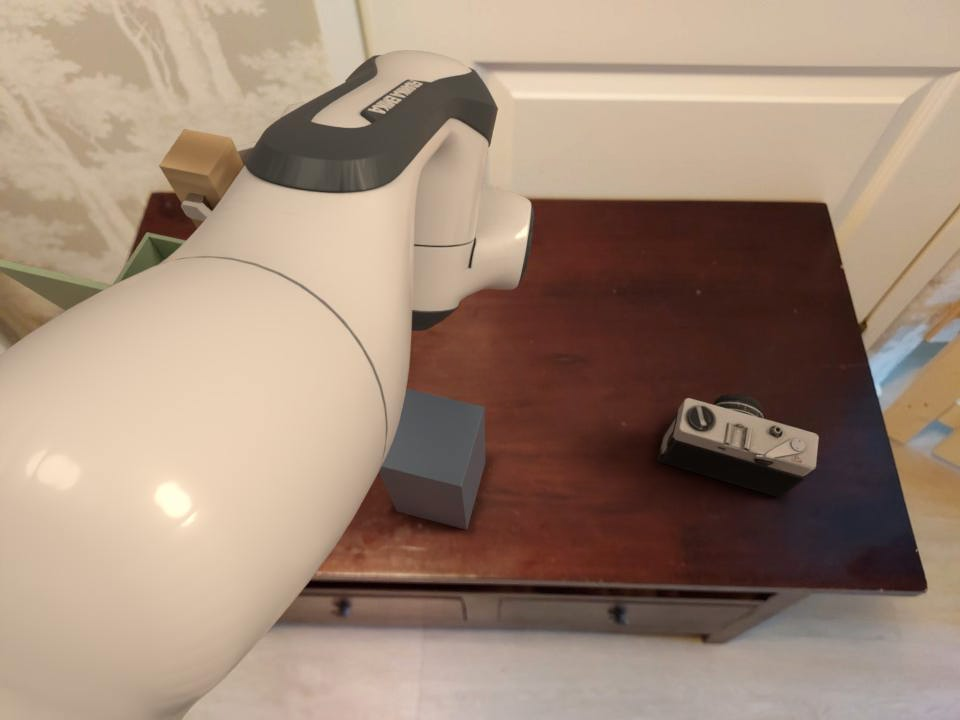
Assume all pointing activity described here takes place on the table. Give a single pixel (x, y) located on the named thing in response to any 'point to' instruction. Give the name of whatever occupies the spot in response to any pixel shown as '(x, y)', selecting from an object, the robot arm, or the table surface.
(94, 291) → the box lid
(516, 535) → the table surface
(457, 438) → the block
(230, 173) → the block
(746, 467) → the camera
